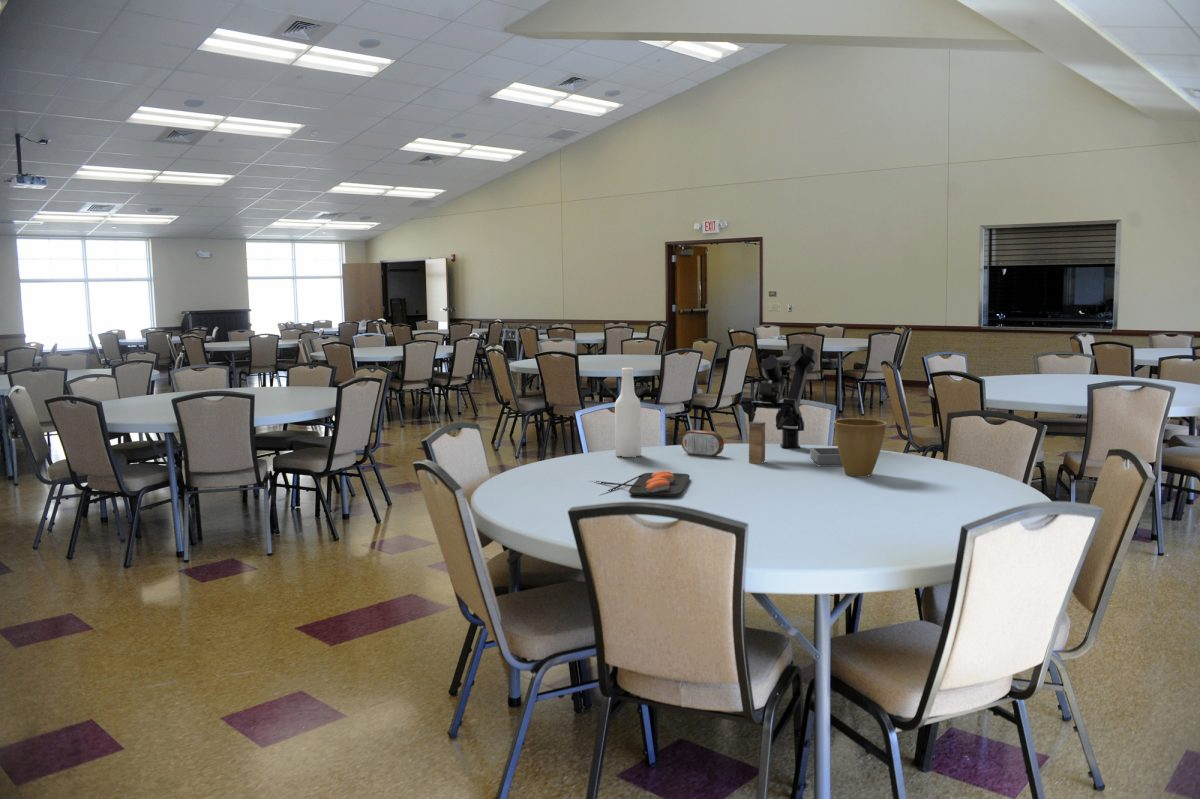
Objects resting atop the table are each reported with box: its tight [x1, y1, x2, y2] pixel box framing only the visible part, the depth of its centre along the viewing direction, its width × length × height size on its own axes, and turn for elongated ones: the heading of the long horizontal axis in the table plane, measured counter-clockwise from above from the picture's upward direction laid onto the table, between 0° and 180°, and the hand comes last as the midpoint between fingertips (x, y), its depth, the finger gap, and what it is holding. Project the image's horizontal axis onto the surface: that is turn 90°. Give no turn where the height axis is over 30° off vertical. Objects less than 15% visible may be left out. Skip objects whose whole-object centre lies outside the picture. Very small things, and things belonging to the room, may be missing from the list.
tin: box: [680, 429, 725, 457], centre depth 310 cm, size 15×3×8 cm, turn 58°
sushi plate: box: [595, 470, 691, 497], centre depth 261 cm, size 29×30×4 cm
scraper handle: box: [748, 420, 766, 464], centre depth 295 cm, size 4×4×13 cm
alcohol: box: [614, 367, 642, 458], centre depth 310 cm, size 9×9×30 cm
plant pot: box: [833, 418, 887, 477], centre depth 272 cm, size 15×15×16 cm
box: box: [809, 447, 842, 466], centre depth 294 cm, size 14×14×4 cm
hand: (763, 425), depth 299 cm, fingers open, 9 cm apart
